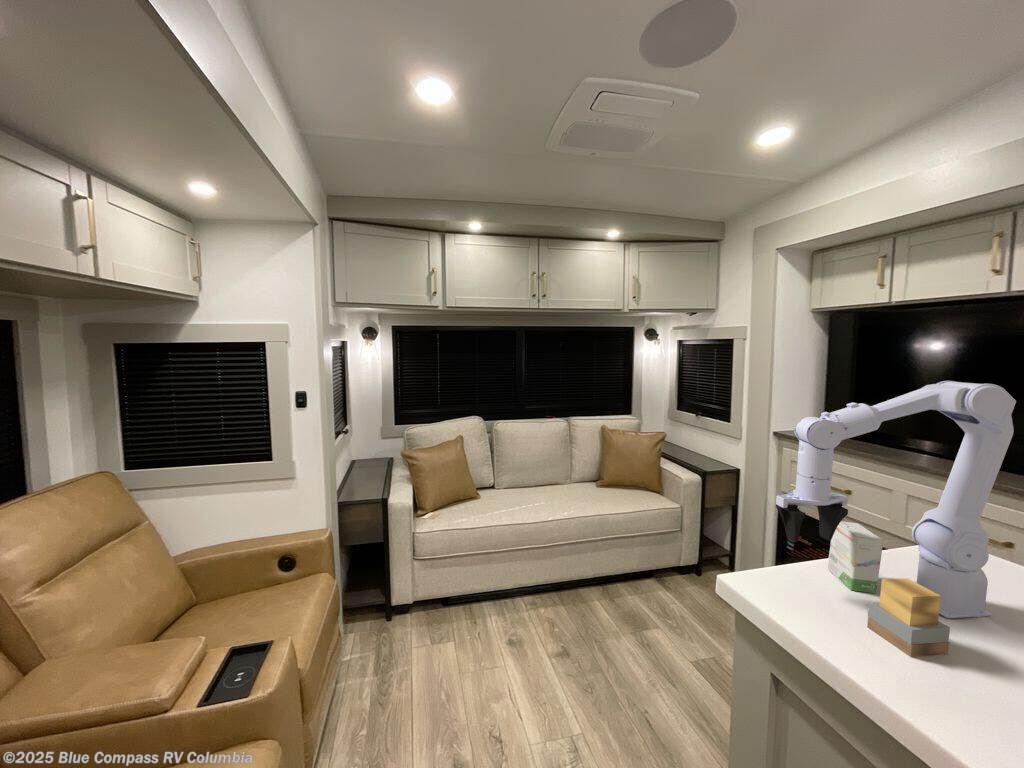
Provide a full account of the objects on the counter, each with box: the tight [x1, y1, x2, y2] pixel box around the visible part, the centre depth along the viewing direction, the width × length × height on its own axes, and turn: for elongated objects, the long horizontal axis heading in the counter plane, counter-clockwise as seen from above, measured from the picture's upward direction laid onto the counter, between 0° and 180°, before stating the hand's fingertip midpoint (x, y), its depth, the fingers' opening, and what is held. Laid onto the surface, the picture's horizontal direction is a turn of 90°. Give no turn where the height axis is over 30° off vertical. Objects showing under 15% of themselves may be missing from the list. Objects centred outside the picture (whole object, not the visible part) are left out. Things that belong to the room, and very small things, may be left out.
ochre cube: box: [879, 577, 941, 626], centre depth 67 cm, size 5×5×5 cm
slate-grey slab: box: [867, 601, 951, 645], centre depth 68 cm, size 7×7×2 cm
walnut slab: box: [866, 616, 950, 658], centre depth 68 cm, size 7×7×2 cm
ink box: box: [827, 521, 884, 594], centre depth 85 cm, size 9×5×12 cm, turn 168°
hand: (808, 538), depth 82 cm, fingers open, 7 cm apart
